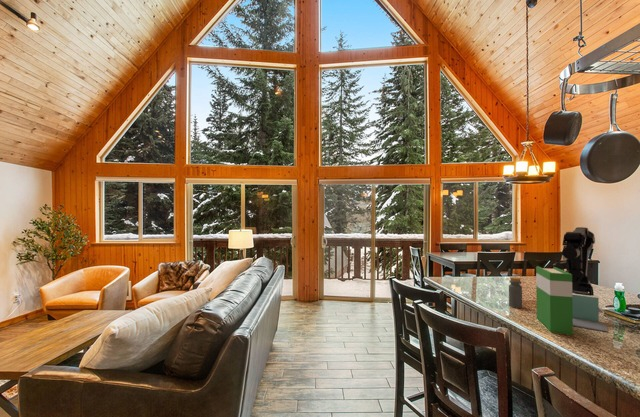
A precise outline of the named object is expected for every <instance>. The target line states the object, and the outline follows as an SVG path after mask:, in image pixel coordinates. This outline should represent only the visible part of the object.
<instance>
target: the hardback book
mask: <svg viewBox="0 0 640 417" xmlns="http://www.w3.org/2000/svg"><path fill="white" fill-rule="evenodd" d="M535 270H536V271H535V272H536V274H535V276H536V277H535V279H536V283H535V284H536V319H538V320H539V321H540V322H541V323H542V324H543V325H544V326H545V327H546V328H547V329H548V330H549V331H550V332H554V333H553V334H558V333H559V334H560V335H567V334H568V335H569V336H573V335H574V333H573V332H574V330H573V328H574V326H573V307H572V274H570V273H568V272H567V271H565V270H564V269H562V270H561V269H558V268H556V267H554V266H553V267H552V268H543V267H541V266H538V265H537V266H536V268H535ZM539 321H538V322H539ZM540 322H539V323H540ZM541 323H540V324H541ZM542 324H541V325H542ZM543 325H542V326H543ZM544 326H543V327H544ZM545 327H544V328H545ZM546 328H545V329H546ZM547 329H546V330H547ZM548 330H547V331H548ZM549 331H548V332H549ZM550 332H549V333H550Z"/></svg>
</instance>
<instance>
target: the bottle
mask: <svg viewBox="0 0 640 417" xmlns="http://www.w3.org/2000/svg"><path fill="white" fill-rule="evenodd" d="M509 283H510V284H509V285H508V306H509V307H511V308H515V309H522V308H523V286H522V285H521V284H522V281H521V277H519V276H510V277H509Z"/></svg>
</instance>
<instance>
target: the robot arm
mask: <svg viewBox="0 0 640 417" xmlns="http://www.w3.org/2000/svg"><path fill="white" fill-rule="evenodd" d="M595 243H596V238H595V234H594V233H593V232H592V231H590V230H589V228H588V227H580V226H579V227H578V226H577V227H575V229H573V231H566V232H565V233H564V234H563V240H562V246H564V247H565V246H566V247H565V248H563V249H562V252H561V253H562V256H563V257H564V258H566V261H562V262H560V261H558V262H557V261H556V262H555V263H553V264H552V265H553V267H556V268H558V269H561V270H565V269H566V272H568V273H570V274H572V293H573V294H581V295H589V296H595V295H594V293H595V292H594V287H593V286H592V284H591V282H590V278H588V277H587V276H588V267H589V253H590V251H591V250H592V249H593V248H594V245H595Z"/></svg>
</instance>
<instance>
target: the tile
mask: <svg viewBox="0 0 640 417" xmlns="http://www.w3.org/2000/svg"><path fill="white" fill-rule="evenodd" d="M599 303H600V302H599V296H596V295H594V296H589V295H581V294H574V293H572V307H573V318H576V319H582V320H588V321H594V322H600V321H599V320H600V319H599V318H600V314H599V312H600V310H599V309H600V307H599V306H600V305H599Z"/></svg>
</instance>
